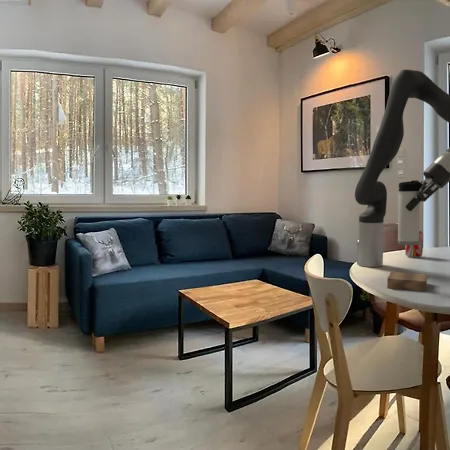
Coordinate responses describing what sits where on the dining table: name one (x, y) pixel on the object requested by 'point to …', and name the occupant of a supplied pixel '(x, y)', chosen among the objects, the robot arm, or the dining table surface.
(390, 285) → the walnut stand
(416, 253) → the soda can
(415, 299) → the dining table surface
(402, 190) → the travel mug
